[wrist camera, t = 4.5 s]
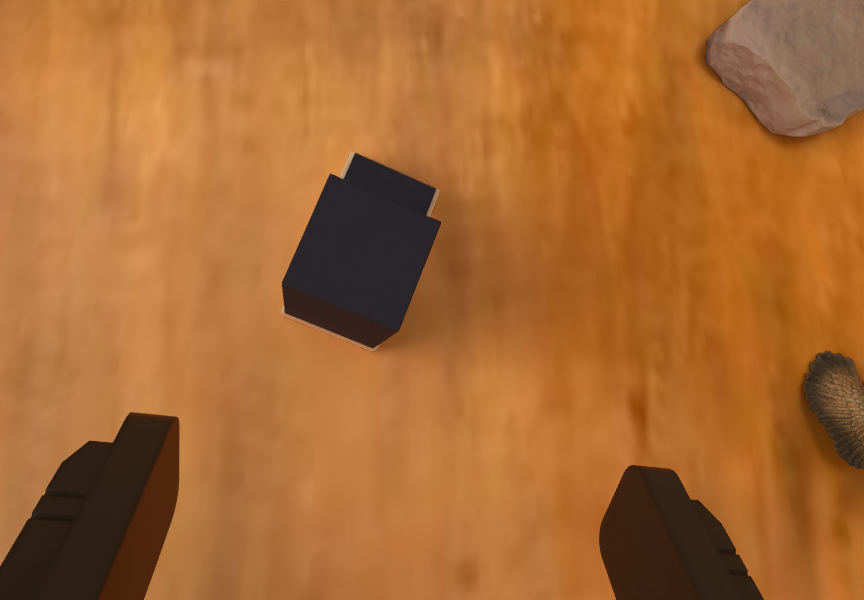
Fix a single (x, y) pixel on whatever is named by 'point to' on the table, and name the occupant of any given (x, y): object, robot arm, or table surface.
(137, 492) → the robot arm
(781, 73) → the stone block
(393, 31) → the table surface
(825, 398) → the brown animal figurine
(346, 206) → the high-top shoe
